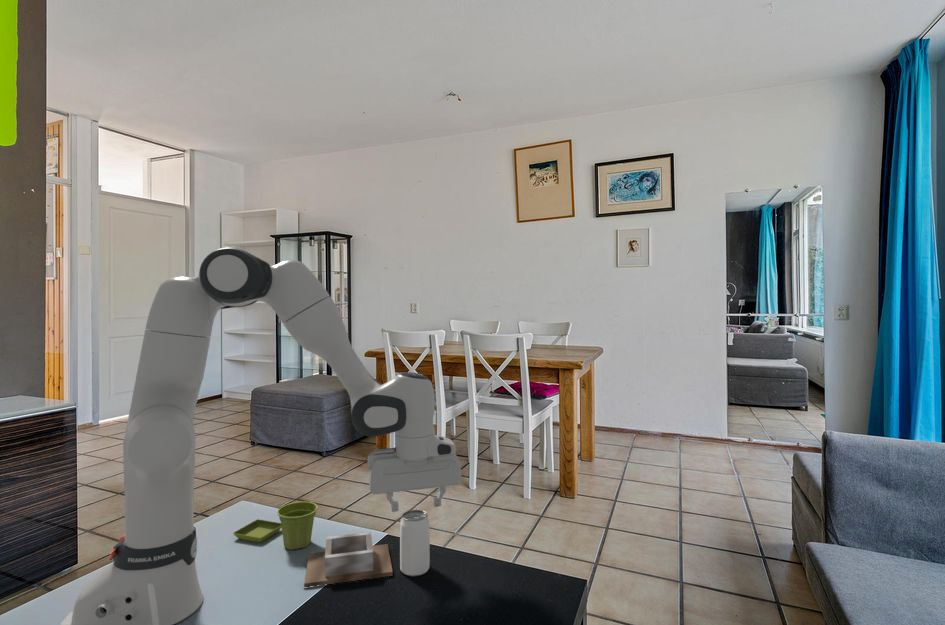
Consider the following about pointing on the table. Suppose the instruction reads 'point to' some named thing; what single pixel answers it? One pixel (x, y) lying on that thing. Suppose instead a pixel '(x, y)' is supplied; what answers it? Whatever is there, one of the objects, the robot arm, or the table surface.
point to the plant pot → (297, 523)
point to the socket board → (348, 560)
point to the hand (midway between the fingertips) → (416, 508)
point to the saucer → (258, 530)
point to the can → (414, 543)
